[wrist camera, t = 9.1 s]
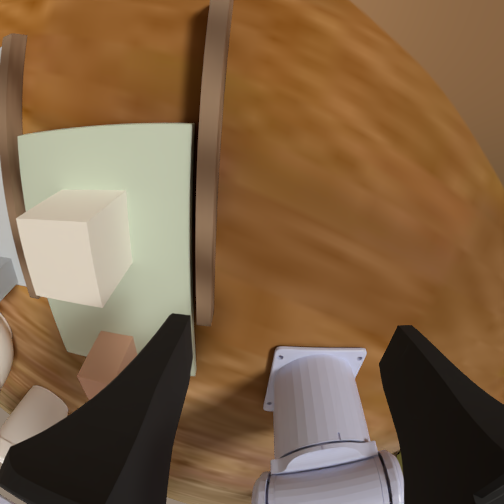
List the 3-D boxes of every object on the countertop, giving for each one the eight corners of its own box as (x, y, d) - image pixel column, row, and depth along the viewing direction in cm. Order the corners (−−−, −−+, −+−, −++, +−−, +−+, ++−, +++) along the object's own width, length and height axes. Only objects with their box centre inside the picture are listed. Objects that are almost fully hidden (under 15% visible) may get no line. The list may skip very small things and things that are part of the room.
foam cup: (12, 373, 30) (-25, 440, 18) (53, 381, 29) (14, 463, 18) (46, 413, 34) (19, 476, 23) (88, 423, 33) (63, 496, 22)
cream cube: (132, 262, 19) (103, 308, 15) (72, 256, 19) (36, 295, 15) (126, 190, 17) (86, 222, 13) (61, 189, 17) (15, 218, 12)
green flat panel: (196, 369, 25) (185, 425, 20) (70, 346, 25) (45, 390, 20) (195, 123, 16) (164, 134, 11) (24, 134, 16) (-35, 154, 10)
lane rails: (213, 310, 22) (210, 326, 21) (-6, 276, 22) (-16, 285, 20) (233, 0, 13) (230, -10, 11) (-31, 62, 12) (-45, 63, 10)
